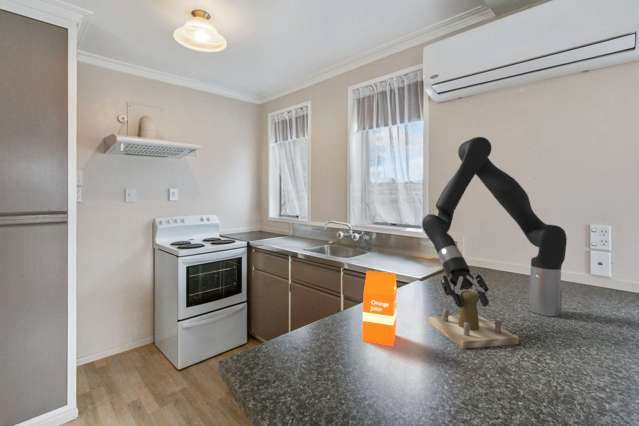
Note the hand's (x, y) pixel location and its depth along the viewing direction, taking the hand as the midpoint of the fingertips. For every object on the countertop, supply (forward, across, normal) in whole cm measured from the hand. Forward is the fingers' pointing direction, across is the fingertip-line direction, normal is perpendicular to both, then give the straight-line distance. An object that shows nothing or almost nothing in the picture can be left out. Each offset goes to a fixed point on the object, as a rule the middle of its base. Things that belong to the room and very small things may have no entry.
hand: (474, 306), depth 95 cm
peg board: (+5, 0, +7) cm, 9 cm away
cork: (+4, 0, +6) cm, 7 cm away
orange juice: (+5, -30, +8) cm, 31 cm away
